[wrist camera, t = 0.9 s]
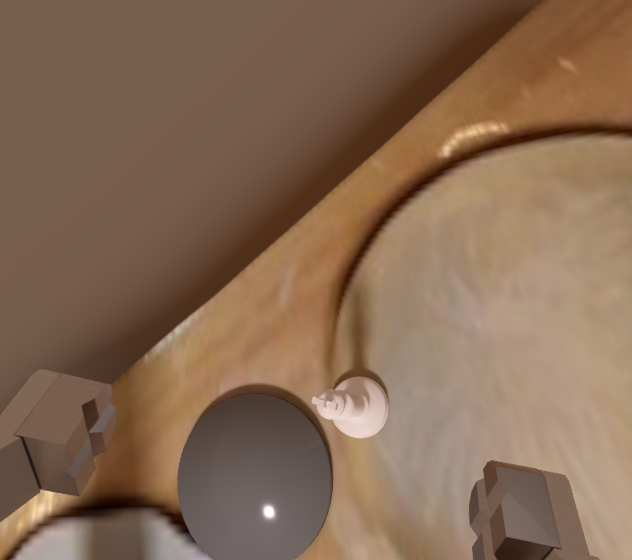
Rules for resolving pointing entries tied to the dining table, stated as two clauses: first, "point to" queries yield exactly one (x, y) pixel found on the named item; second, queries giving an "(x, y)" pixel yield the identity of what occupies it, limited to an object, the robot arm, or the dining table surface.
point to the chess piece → (355, 406)
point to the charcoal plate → (255, 480)
